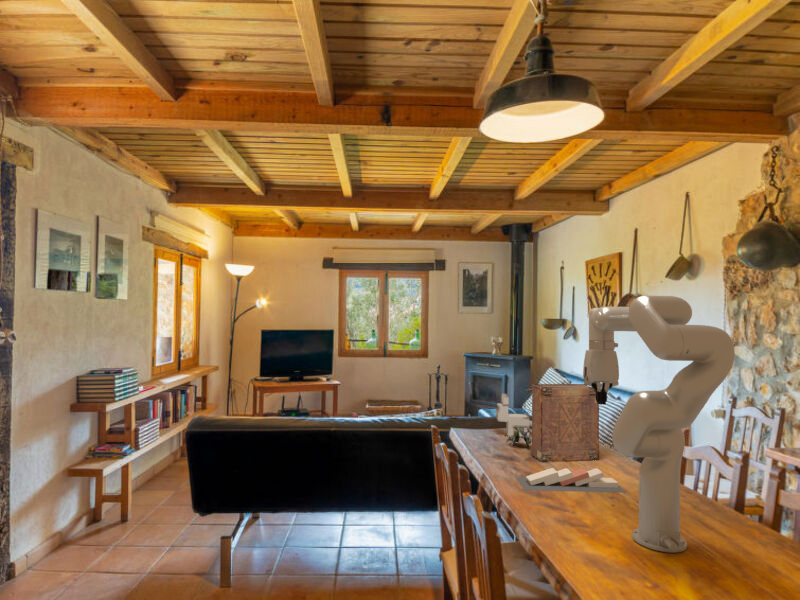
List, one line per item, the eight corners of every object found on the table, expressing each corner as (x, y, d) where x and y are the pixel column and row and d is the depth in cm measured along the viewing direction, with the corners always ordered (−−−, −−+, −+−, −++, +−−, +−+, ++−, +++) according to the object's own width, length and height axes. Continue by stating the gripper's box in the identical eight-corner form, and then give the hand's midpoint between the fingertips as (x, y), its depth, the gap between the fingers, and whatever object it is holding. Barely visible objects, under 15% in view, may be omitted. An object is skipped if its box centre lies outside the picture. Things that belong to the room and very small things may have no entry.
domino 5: (588, 486, 168) (618, 487, 168) (588, 482, 168) (618, 482, 168) (583, 481, 173) (612, 482, 173) (583, 477, 173) (612, 478, 173)
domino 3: (561, 486, 168) (589, 477, 168) (560, 481, 168) (588, 472, 168) (557, 481, 173) (584, 472, 173) (555, 477, 173) (582, 468, 173)
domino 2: (545, 486, 168) (573, 477, 168) (544, 481, 168) (571, 472, 168) (541, 481, 173) (567, 472, 173) (539, 476, 173) (566, 468, 173)
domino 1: (531, 485, 168) (559, 476, 168) (529, 481, 168) (557, 472, 168) (527, 480, 173) (554, 472, 173) (525, 476, 173) (552, 467, 173)
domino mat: (627, 494, 164) (627, 492, 164) (524, 492, 163) (524, 490, 164) (609, 480, 178) (609, 478, 178) (515, 478, 177) (515, 476, 178)
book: (586, 454, 211) (587, 383, 212) (599, 460, 202) (599, 386, 203) (531, 456, 207) (532, 384, 208) (541, 462, 198) (542, 387, 199)
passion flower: (527, 459, 220) (538, 441, 214) (504, 455, 219) (514, 437, 213) (522, 440, 230) (532, 422, 223) (500, 436, 228) (509, 418, 222)
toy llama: (534, 438, 237) (535, 396, 238) (497, 437, 239) (498, 395, 239) (531, 434, 244) (532, 394, 245) (496, 433, 246) (496, 393, 247)
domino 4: (576, 486, 168) (604, 477, 168) (574, 481, 168) (602, 472, 168) (571, 481, 173) (598, 472, 173) (569, 477, 173) (596, 468, 173)
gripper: (618, 346, 162) (619, 402, 162) (573, 345, 162) (573, 401, 161) (630, 347, 155) (630, 406, 154) (582, 346, 155) (582, 405, 154)
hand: (601, 403), depth 158 cm, fingers closed
